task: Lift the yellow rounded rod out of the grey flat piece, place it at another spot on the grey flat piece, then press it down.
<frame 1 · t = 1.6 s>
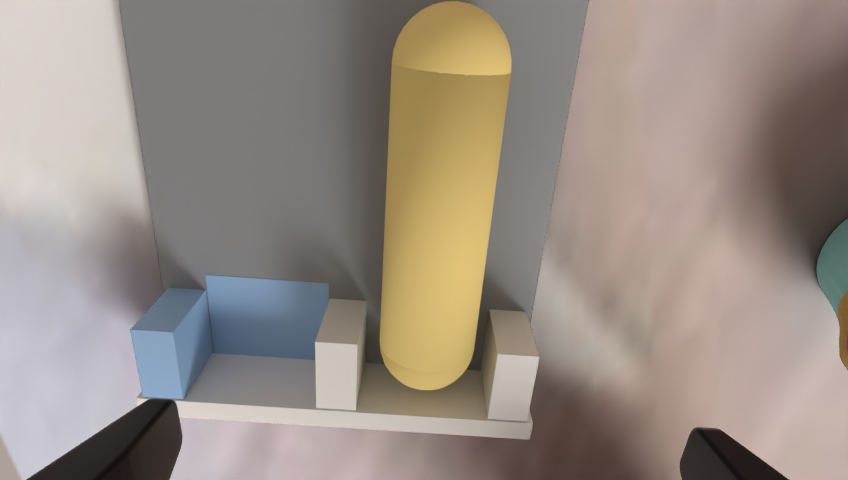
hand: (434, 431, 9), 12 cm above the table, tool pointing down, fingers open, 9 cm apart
yellow rounded rod: (437, 201, 20), point 1 cm above the table, touching grey flat piece
grey flat piece: (352, 189, 20), on the table
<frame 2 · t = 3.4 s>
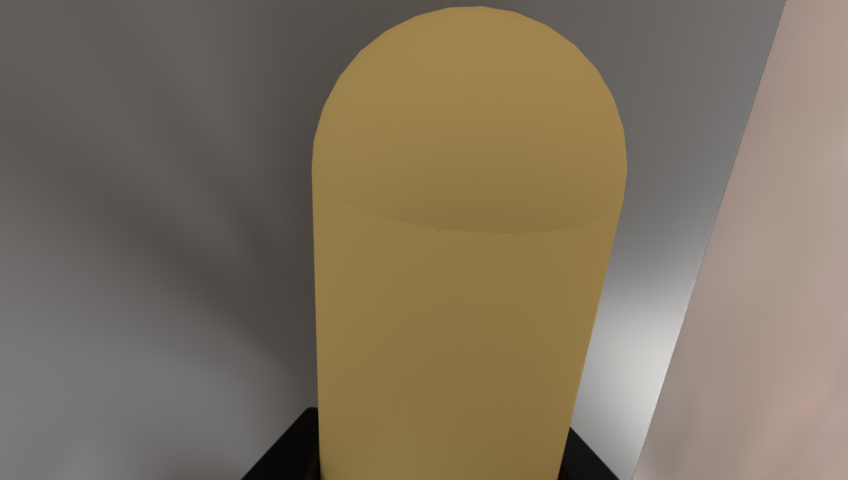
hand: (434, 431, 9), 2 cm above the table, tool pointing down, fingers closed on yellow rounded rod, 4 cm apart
yellow rounded rod: (434, 394, 10), point 1 cm above the table, touching grey flat piece, gripper
grey flat piece: (271, 365, 10), on the table
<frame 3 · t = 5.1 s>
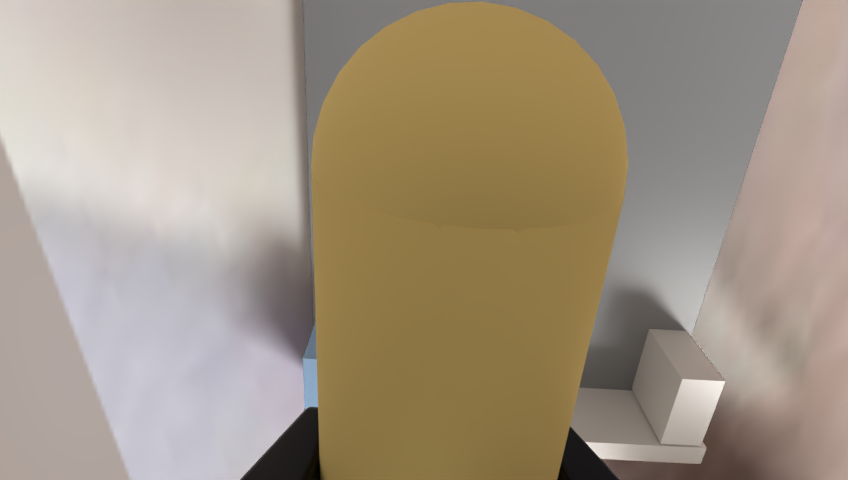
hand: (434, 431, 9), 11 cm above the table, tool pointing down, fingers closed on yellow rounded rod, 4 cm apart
yellow rounded rod: (434, 393, 10), point 10 cm above the table, touching gripper
grey flat piece: (517, 208, 19), on the table
when the fingers open (3 cm above the table, at t = 6.8 s): yellow rounded rod drops 1 cm, resting on grey flat piece.
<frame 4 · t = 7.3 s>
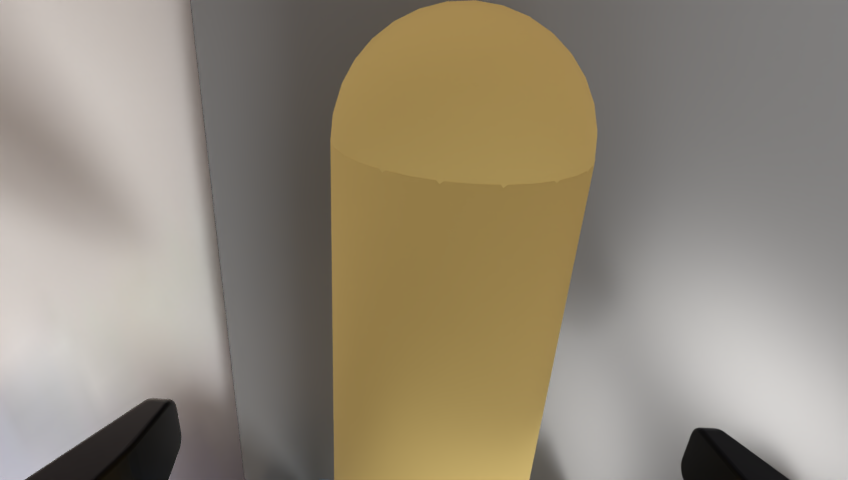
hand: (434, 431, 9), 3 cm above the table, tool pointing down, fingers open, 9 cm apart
yellow rounded rod: (434, 354, 11), point 1 cm above the table, touching grey flat piece
grey flat piece: (578, 347, 12), on the table
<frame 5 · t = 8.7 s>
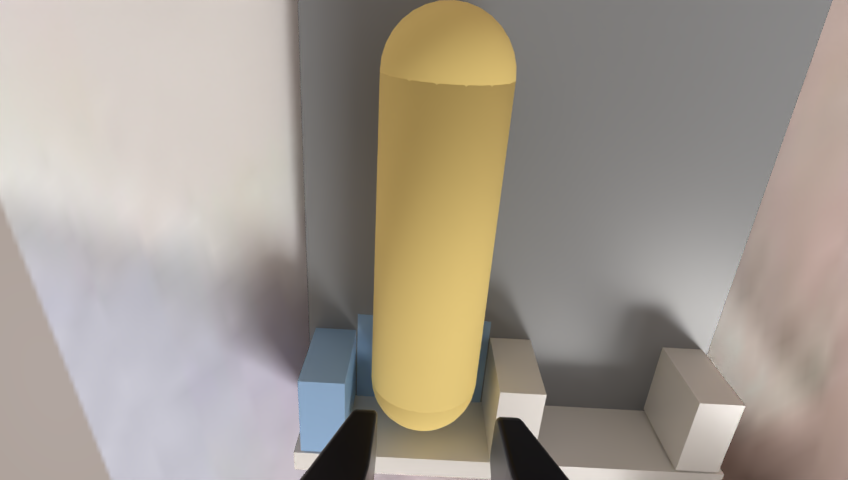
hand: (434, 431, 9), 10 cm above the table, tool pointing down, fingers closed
yellow rounded rod: (432, 221, 18), point 1 cm above the table, touching grey flat piece
grey flat piece: (524, 221, 18), on the table
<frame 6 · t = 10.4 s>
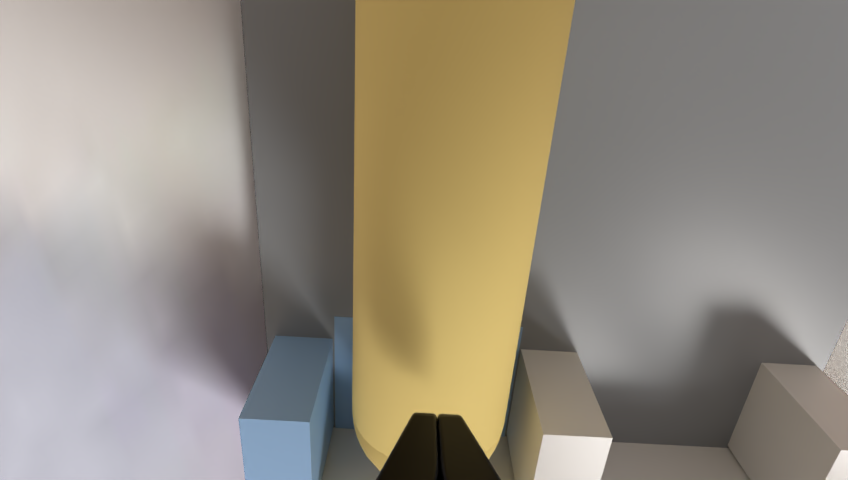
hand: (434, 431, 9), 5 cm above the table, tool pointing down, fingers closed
yellow rounded rod: (441, 180, 12), point 1 cm above the table, touching grey flat piece
grey flat piece: (574, 182, 13), on the table
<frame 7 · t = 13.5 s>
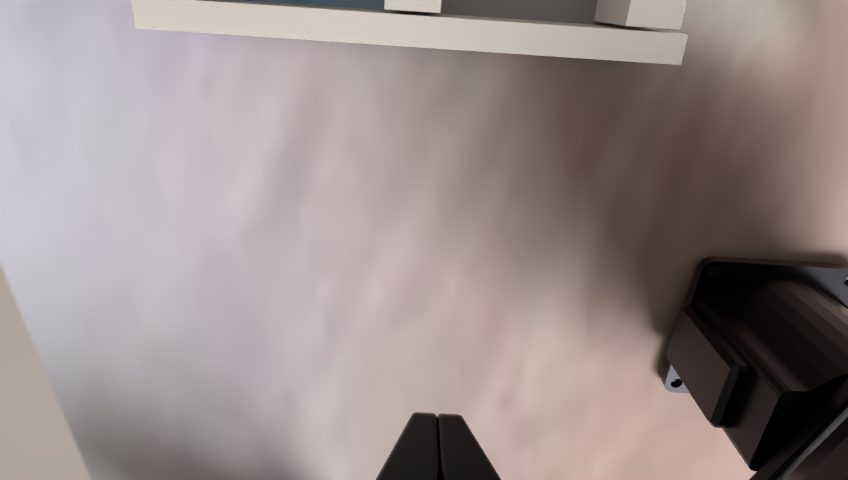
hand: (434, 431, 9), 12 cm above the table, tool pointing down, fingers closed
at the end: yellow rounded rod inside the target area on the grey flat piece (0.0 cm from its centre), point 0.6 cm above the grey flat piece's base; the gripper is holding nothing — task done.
